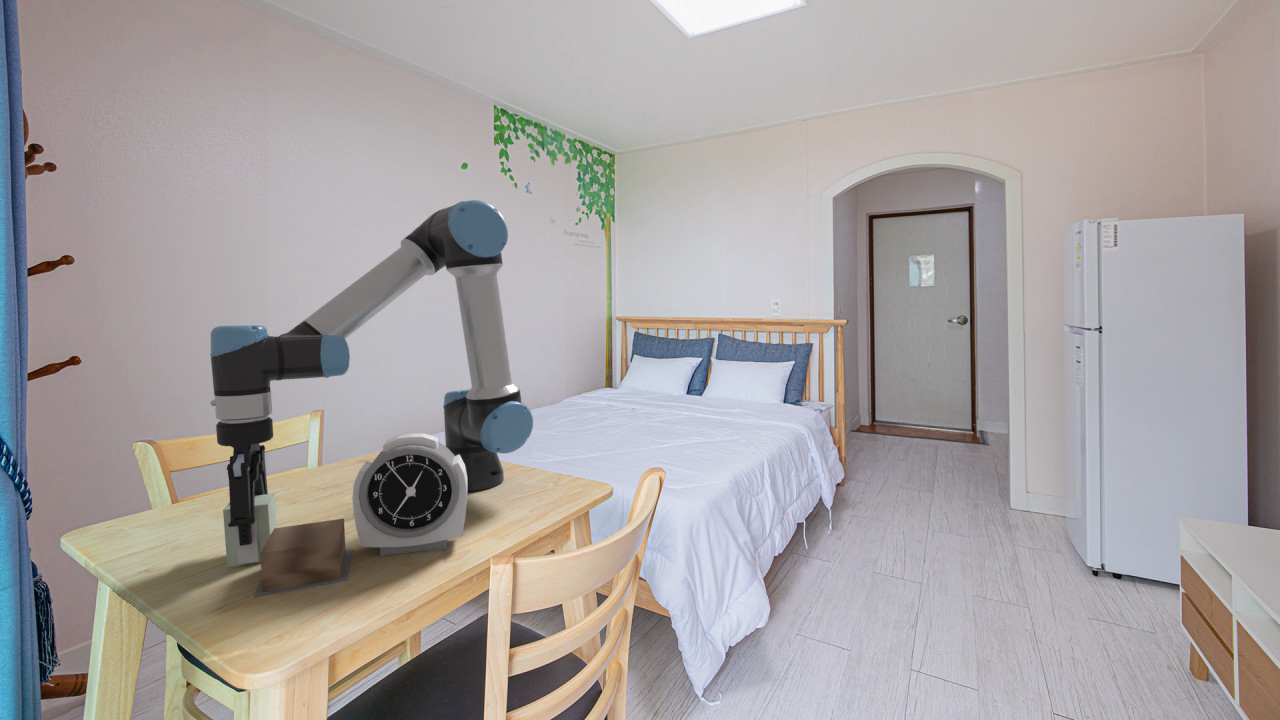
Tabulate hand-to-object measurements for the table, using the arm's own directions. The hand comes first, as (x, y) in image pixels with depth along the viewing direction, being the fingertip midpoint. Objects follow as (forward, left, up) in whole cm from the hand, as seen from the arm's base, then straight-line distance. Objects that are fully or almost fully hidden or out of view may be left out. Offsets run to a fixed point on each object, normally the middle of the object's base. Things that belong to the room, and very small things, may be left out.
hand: (253, 552), depth 90 cm
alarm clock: (-25, +7, -1) cm, 26 cm away
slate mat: (-9, +10, -1) cm, 13 cm away
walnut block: (-9, +10, -1) cm, 13 cm away
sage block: (0, 0, -1) cm, 1 cm away
